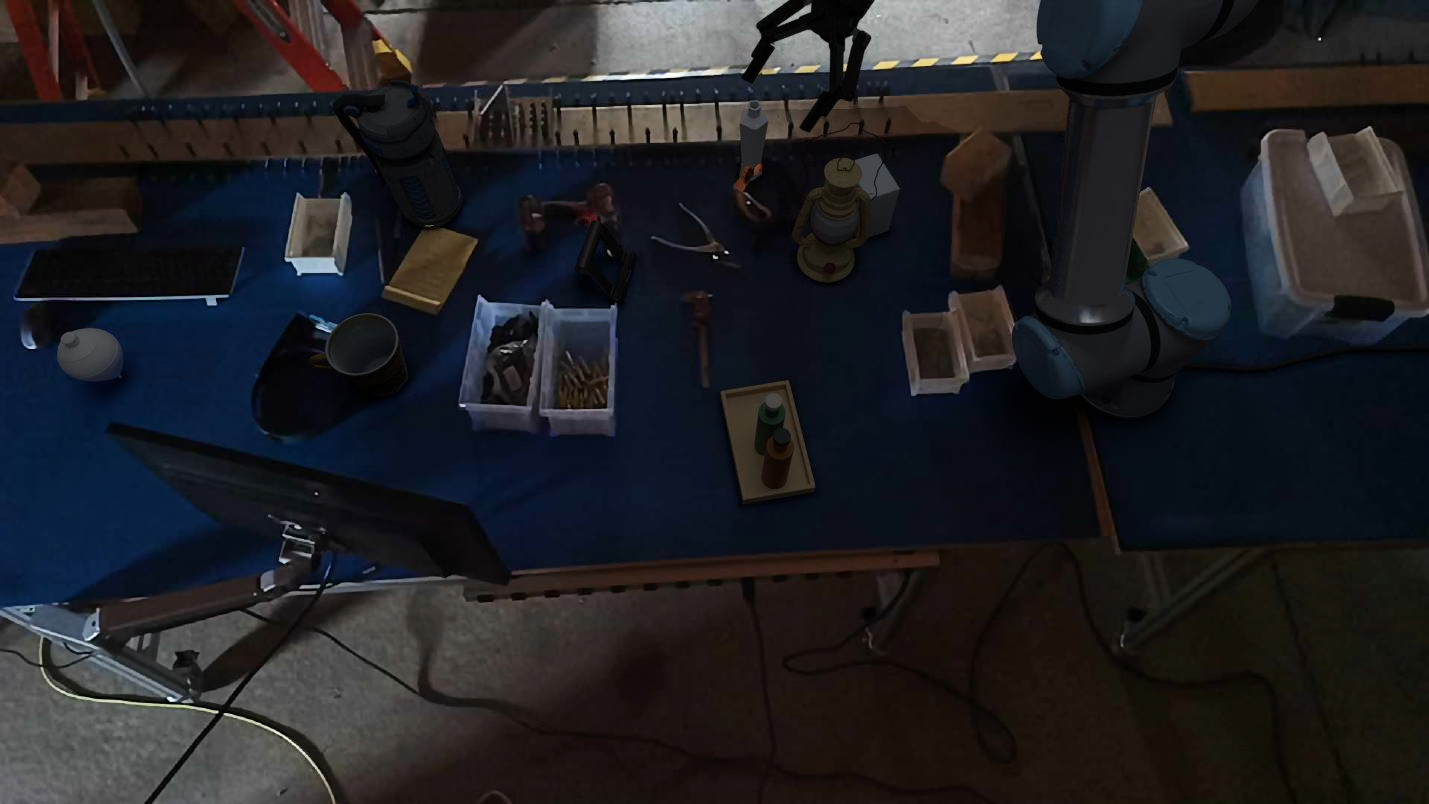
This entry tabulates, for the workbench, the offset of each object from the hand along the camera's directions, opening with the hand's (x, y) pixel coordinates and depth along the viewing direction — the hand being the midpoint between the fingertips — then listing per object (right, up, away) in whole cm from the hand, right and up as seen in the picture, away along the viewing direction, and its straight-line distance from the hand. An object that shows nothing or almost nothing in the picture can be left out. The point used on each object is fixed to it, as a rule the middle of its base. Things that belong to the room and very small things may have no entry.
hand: (774, 105), depth 137 cm
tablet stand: (-27, -27, 0) cm, 38 cm away
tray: (-2, -53, -12) cm, 54 cm away
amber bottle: (-1, -58, -15) cm, 60 cm away
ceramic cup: (-60, -44, -8) cm, 75 cm away
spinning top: (-98, -44, -8) cm, 107 cm away
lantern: (+8, -24, +2) cm, 26 cm away
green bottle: (-2, -53, -13) cm, 55 cm away
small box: (+15, -17, +6) cm, 23 cm away
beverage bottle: (-57, -15, +6) cm, 59 cm away
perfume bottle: (-3, -8, +10) cm, 13 cm away
